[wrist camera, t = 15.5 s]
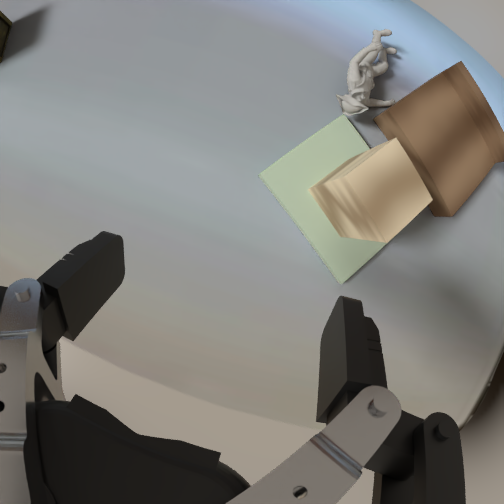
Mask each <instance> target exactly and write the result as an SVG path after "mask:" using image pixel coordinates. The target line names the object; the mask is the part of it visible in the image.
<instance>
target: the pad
mask: <svg viewBox="0 0 504 504" xmlns="http://www.w3.org/2000/svg"><path fill="white" fill-rule="evenodd" d="M369 149H370V148H369V147H368V146H367V144H366V143H365V141H364V140H363V139H362V137H361V136H360V135H359V133H358V132H357V131H356V129H355V128H354V127H353V125H352V124H351V123H350V121H349V120H348V119H347V117H346V116H345V115H344V114H343V115H341V116H340V117H338V118H337V119H335V120H334V121H332V122H331V123H330V124H328V125H327V126H325V127H324V128H322V129H321V130H319V131H318V132H317V133H315V134H314V135H312V136H311V137H309V138H308V139H307V140H305V141H304V142H302V143H301V144H300V145H298V146H297V147H295V148H294V149H293V150H291V151H290V152H288V153H287V154H286V155H284V156H283V157H282V158H280V159H279V160H277V161H276V162H275V163H273V164H272V165H271V166H269V167H268V168H267V169H265V170H264V171H263V172H261V173H260V174H259V175H258V176H259V177H260V179H261V180H262V181H263V183H264V184H265V185H266V186H267V188H268V189H269V190H270V191H271V193H272V194H273V195H274V197H275V198H276V199H277V200H278V202H279V203H280V204H281V206H282V207H283V208H284V210H285V211H286V212H287V214H288V215H289V216H290V217H291V219H292V220H293V221H294V223H295V224H296V225H297V227H298V228H299V229H300V231H301V232H302V233H303V235H304V236H305V238H306V239H307V240H308V242H309V243H310V244H311V246H312V247H313V248H314V250H315V251H316V252H317V254H318V255H319V257H320V258H321V259H322V261H323V262H324V264H325V265H326V266H327V268H328V269H329V270H330V272H331V273H332V275H333V276H334V277H335V279H336V280H337V282H338V283H340V284H342V283H344V282H345V281H346V280H347V279H348V278H349V277H350V276H352V275H353V274H354V273H355V272H356V271H357V270H358V269H359V268H361V267H362V266H363V265H364V264H365V263H366V262H367V261H368V260H369V259H371V258H372V257H373V256H374V255H375V254H376V253H377V252H378V251H379V250H380V249H381V248H382V247H384V246H385V245H386V244H387V243H384V242H376V241H369V240H362V239H354V238H347V237H340V236H339V234H338V233H337V231H336V230H335V228H334V227H333V225H332V224H331V222H330V221H329V219H328V218H327V216H326V215H325V214H324V212H323V211H322V209H321V208H320V206H319V205H318V203H317V202H316V201H315V199H314V198H313V196H312V195H311V194H310V192H309V191H308V189H309V188H310V187H312V186H313V185H314V184H316V183H317V182H318V181H320V180H321V179H322V178H324V177H325V176H326V175H328V174H329V173H331V172H332V171H333V170H335V169H336V168H337V167H339V166H340V165H341V164H343V163H344V162H345V161H347V160H348V159H350V158H352V157H354V156H356V155H358V154H361V153H363V152H365V151H367V150H369Z"/></svg>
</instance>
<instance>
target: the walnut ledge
mask: <svg viewBox="0 0 504 504" xmlns="http://www.w3.org/2000/svg"><path fill="white" fill-rule="evenodd" d="M373 120H374V121H375V122H376V124H377V125H378V127H379V128H380V129H381V131H382V132H383V134H384V135H385V136H386V138H387V139H388V141H389V140H392V139H394V138H397V140H398V141H399V143H400V144H401V146H402V147H403V149H404V150H405V152H406V154H407V155H408V157H409V159H410V160H411V162H412V164H413V165H414V167H415V169H416V170H417V172H418V174H419V176H420V177H421V179H422V181H423V183H424V184H425V186H426V188H427V190H428V192H429V194H430V196H431V197H432V199H433V200H432V201H431V202H430V203H429V204H428V206H429V208H430V210H431V212H432V213H433V215H434V217H452V216H453V215H454V214H455V213H456V212H457V210H458V209H459V208H460V207H461V206H462V205H463V203H464V202H465V201H466V200H467V199H468V197H469V196H470V195H471V194H472V192H473V191H474V190H475V189H476V187H477V186H478V185H479V184H480V182H481V181H482V180H483V179H484V177H485V176H486V175H487V173H488V172H489V171H490V169H491V168H492V167H493V165H494V164H495V163H497V162H504V132H503V130H502V128H501V126H500V124H499V122H498V120H497V118H496V116H495V114H494V113H493V111H492V109H491V107H490V105H489V104H488V102H487V100H486V98H485V97H484V95H483V93H482V92H481V90H480V88H479V87H478V85H477V84H476V82H475V80H474V79H473V77H472V76H471V74H470V73H469V71H468V70H467V68H466V67H465V66H464V64H463V63H462V61H460V62H458V63H456V64H455V65H453V66H451V67H450V68H448V69H446V70H445V71H443V72H441V73H440V74H438V75H436V76H435V77H433V78H431V79H430V80H429V81H427V82H426V83H424V84H423V85H421V86H420V87H418V88H417V89H415V90H414V91H412V92H411V93H409V94H408V95H407V96H405V97H404V98H402V99H401V100H399V101H398V102H397V103H395V104H394V105H392V106H391V107H389V108H388V109H387V110H385V111H384V112H382V113H381V114H380V115H378V116H377V117H375V118H374V119H373Z"/></svg>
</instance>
